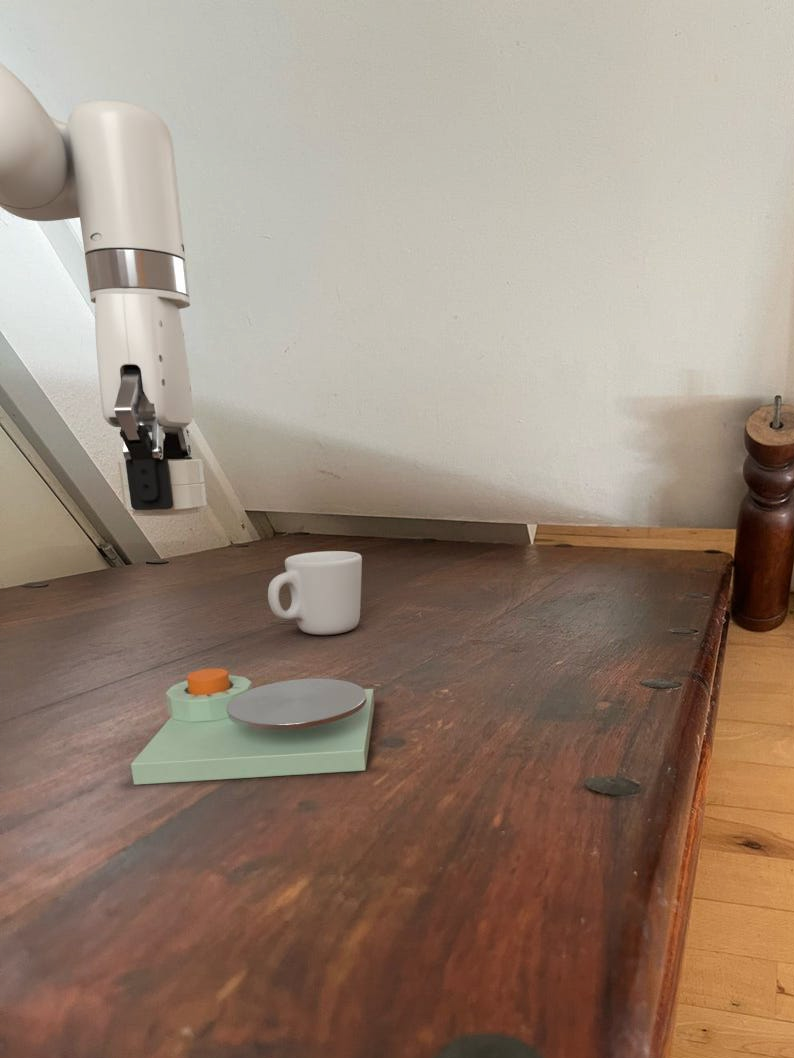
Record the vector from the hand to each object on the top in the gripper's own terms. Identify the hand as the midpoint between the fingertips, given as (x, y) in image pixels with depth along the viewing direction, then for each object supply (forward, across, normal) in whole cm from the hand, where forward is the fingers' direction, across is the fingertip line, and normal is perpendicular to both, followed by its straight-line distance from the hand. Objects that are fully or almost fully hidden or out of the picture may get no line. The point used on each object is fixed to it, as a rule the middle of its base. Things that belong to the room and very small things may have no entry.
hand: (166, 503), depth 67 cm
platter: (+12, +21, +13) cm, 28 cm away
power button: (+12, +16, +6) cm, 21 cm away
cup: (+15, -10, +11) cm, 21 cm away
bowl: (+1, 0, 0) cm, 1 cm away
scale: (+15, +20, +11) cm, 27 cm away
